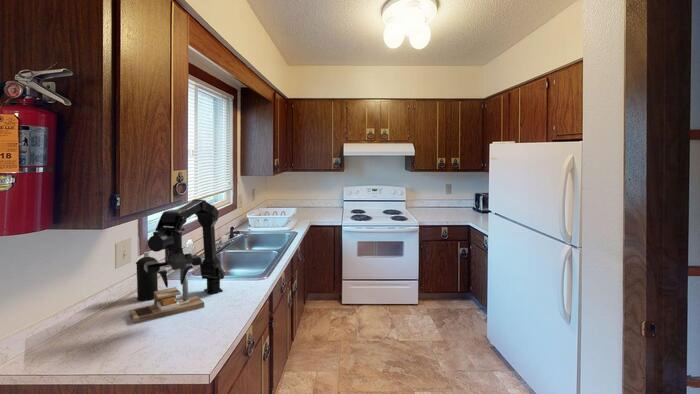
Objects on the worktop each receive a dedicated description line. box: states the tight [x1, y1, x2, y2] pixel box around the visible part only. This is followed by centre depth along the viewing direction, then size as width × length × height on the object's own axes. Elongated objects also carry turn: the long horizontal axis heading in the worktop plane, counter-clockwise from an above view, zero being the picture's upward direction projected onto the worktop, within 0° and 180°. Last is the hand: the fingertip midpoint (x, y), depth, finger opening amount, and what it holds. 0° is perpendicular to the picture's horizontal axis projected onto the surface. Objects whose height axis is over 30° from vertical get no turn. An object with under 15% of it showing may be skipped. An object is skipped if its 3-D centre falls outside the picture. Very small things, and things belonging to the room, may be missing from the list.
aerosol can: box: [135, 251, 159, 302], centre depth 155 cm, size 8×8×20 cm
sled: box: [157, 276, 189, 311], centre depth 144 cm, size 7×11×10 cm, turn 131°
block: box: [161, 296, 175, 307], centre depth 143 cm, size 4×4×4 cm
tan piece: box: [128, 286, 205, 325], centre depth 143 cm, size 10×25×8 cm, turn 131°
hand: (174, 285), depth 135 cm, fingers open, 5 cm apart
